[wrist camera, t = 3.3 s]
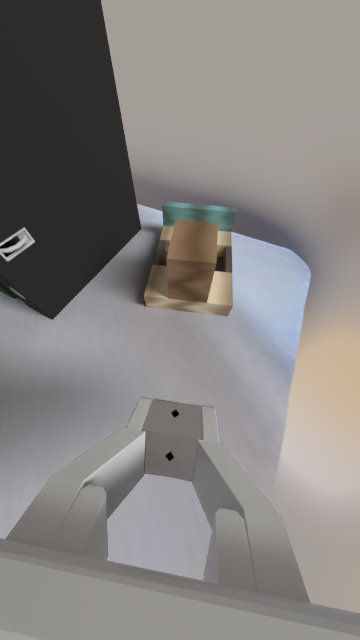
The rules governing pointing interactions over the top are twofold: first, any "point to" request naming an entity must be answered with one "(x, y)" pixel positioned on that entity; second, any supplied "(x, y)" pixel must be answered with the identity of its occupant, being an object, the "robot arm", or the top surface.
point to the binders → (59, 152)
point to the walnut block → (191, 260)
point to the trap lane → (222, 278)
